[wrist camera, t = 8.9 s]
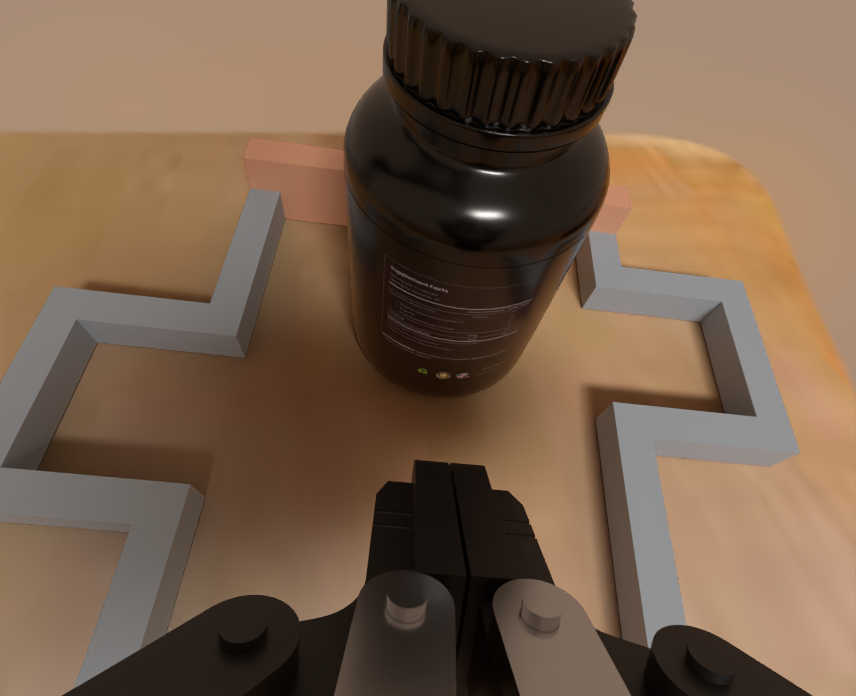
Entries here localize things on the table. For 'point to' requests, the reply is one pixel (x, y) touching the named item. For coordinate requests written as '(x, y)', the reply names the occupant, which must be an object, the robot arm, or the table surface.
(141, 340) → the grey zigzag frame
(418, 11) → the supplement bottle
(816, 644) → the table surface
